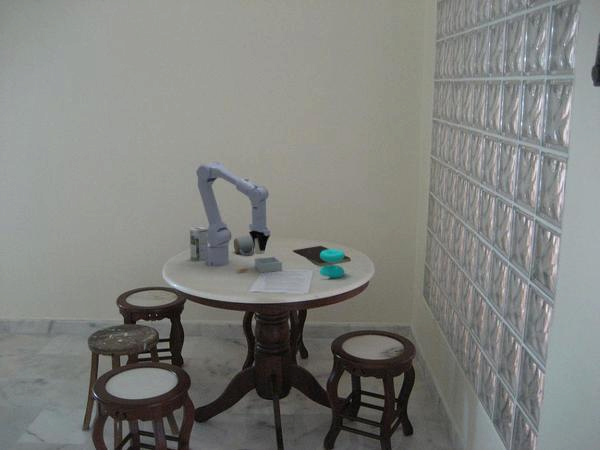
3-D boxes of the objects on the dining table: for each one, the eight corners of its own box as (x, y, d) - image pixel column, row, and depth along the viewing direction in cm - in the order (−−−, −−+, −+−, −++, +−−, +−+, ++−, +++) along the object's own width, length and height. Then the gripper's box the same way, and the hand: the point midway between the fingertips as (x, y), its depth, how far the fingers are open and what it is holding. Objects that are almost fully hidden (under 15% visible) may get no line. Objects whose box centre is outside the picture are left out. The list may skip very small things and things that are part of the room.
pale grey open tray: (260, 272, 270) (260, 264, 269) (255, 266, 278) (254, 258, 277) (281, 270, 273) (281, 262, 272) (275, 264, 281) (275, 256, 280)
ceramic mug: (233, 251, 306) (232, 235, 304) (249, 249, 309) (249, 233, 307) (240, 257, 296) (239, 241, 295) (257, 255, 300) (257, 239, 298)
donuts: (343, 255, 262) (318, 254, 264) (343, 279, 264) (318, 278, 266) (345, 248, 272) (321, 248, 273) (345, 272, 274) (321, 271, 276)
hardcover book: (319, 267, 282) (319, 262, 281) (292, 255, 301) (292, 250, 301) (350, 262, 290) (350, 257, 289) (322, 250, 309) (322, 245, 309)
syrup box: (190, 260, 292) (188, 228, 289) (201, 257, 296) (199, 226, 293) (197, 262, 288) (196, 230, 285) (208, 260, 292) (207, 228, 289)
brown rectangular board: (236, 279, 265) (236, 276, 265) (229, 270, 277) (229, 267, 277) (284, 274, 271) (284, 271, 271) (275, 265, 283) (275, 262, 283)
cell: (257, 254, 270) (257, 238, 268) (253, 252, 273) (252, 236, 272) (266, 253, 272) (266, 237, 270) (262, 250, 275) (261, 235, 274)
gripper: (242, 214, 273) (243, 246, 276) (258, 221, 261) (259, 254, 264) (257, 212, 277) (258, 244, 280) (274, 219, 264) (274, 252, 268)
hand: (259, 249), depth 272 cm, fingers closed on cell, 4 cm apart
